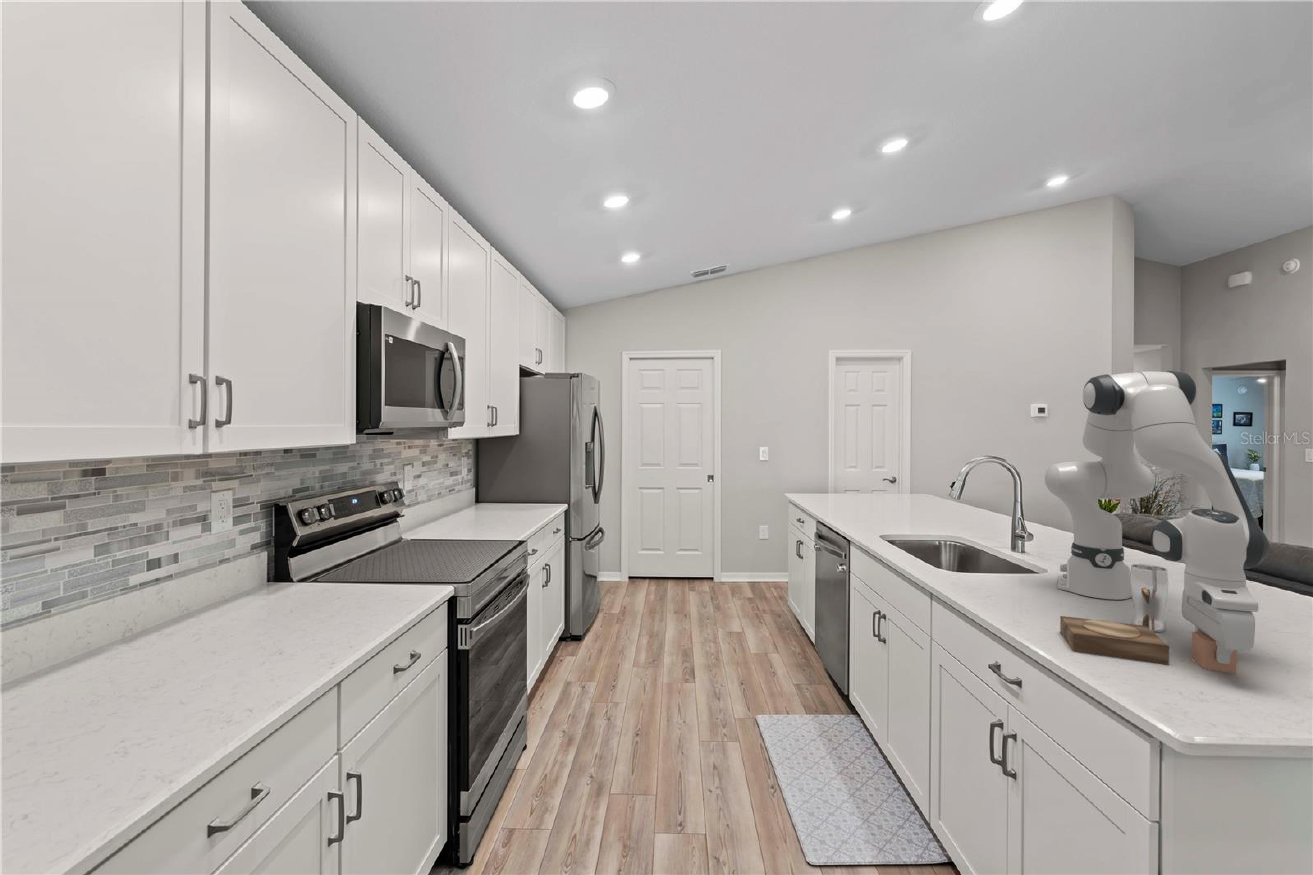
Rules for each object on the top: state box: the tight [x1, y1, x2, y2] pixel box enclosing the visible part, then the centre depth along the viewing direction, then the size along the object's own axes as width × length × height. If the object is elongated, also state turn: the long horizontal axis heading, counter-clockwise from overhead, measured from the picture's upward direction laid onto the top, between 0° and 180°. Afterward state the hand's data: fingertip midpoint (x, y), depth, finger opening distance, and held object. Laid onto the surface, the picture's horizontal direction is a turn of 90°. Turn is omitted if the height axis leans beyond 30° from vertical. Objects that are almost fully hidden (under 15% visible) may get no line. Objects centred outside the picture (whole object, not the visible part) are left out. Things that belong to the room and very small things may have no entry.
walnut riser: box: [1059, 615, 1170, 665], centre depth 120 cm, size 12×16×4 cm
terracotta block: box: [1191, 631, 1238, 674], centre depth 110 cm, size 5×5×6 cm
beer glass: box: [1130, 563, 1169, 633], centre depth 131 cm, size 7×7×15 cm
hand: (1213, 655), depth 110 cm, fingers open, 5 cm apart
